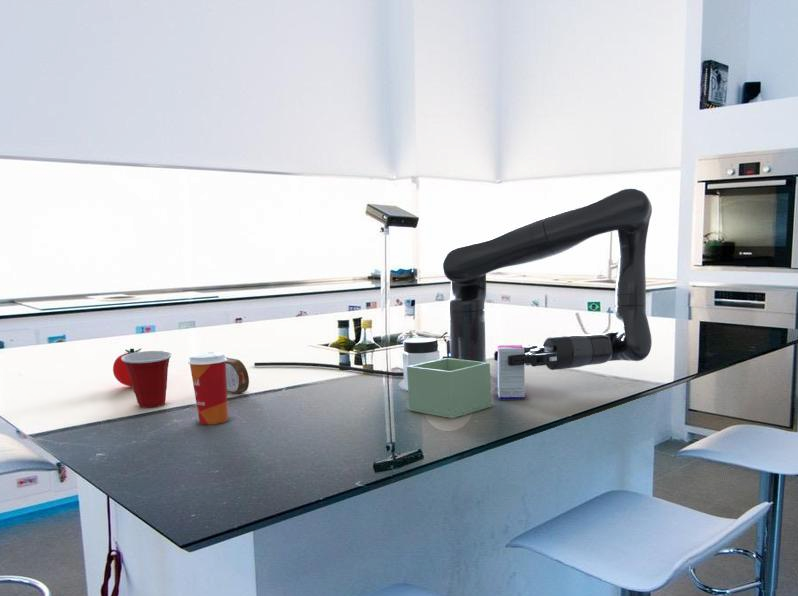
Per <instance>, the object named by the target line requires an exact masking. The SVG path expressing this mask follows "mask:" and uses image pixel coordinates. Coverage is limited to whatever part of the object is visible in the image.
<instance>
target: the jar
mask: <svg viewBox="0 0 798 596" xmlns="http://www.w3.org/2000/svg"><path fill="white" fill-rule="evenodd" d="M402 344H403V350H402V370H403V371H402V373H404V376H403V389H404V390H405V391H407V392H408V379H407V366H412V365H416V364H421V363H426V362H430V361H435V360H440V359H441V358H440V351H439V350H438V349H439V343H438V338H433V337H414V338H408V339H407V338H406V339H404V340H403V341H402Z"/></svg>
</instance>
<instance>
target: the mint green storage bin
mask: <svg viewBox="0 0 798 596" xmlns="http://www.w3.org/2000/svg"><path fill="white" fill-rule="evenodd" d="M407 379H408V391H407V395H408V399H407V400H408V411H410V412H415V413H419V414H420V413H421V414H427V415H433V416H437V417H444V418H447V419H448V418H449V419H454V418H458V417H461V416H465V415H467V414H470V413H475V412H478V411H481V410H485V409H488V408H491V407H492V397H491V396H492V395H491V394H492V393H491V391H492V390H491V363H490V362H487V361H486V362H478V361H469V360H460V359H451V358H444V359H443V358H440V360H435V361H430V362H426V363H421V364H416V365H412V366H407Z"/></svg>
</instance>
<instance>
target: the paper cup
mask: <svg viewBox="0 0 798 596" xmlns="http://www.w3.org/2000/svg"><path fill="white" fill-rule="evenodd" d="M225 357H226V355H225V353H224V352H218V351H216V352H200V353H195V354H191V355H190V356H189V360H188V362H187V364H189V368H190V374H191V379H192V385H193V392H194V397H195V398H194V399H195V402H196V409H197V415H198V420H199V424H202V425H217V424H218V425H219V424H222V423H225V422H227V421H228V417H229V416H228V415H229V414H228V413H229V411H228V392H227V382H226V361H227V358H228V357H227V358H225Z"/></svg>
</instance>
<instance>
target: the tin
mask: <svg viewBox="0 0 798 596" xmlns="http://www.w3.org/2000/svg"><path fill="white" fill-rule="evenodd" d="M225 358H227V361H226V382H227V393H229V394H232V395H233V394H234V395H236V394H240V393H245V392H246V391H247V390H248V389H249V385H250V377H249V372H248V369H247V368H246V366H245V364H244V363H243V361H241V360H240V359H237V358H231V357H226V356H225Z"/></svg>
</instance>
